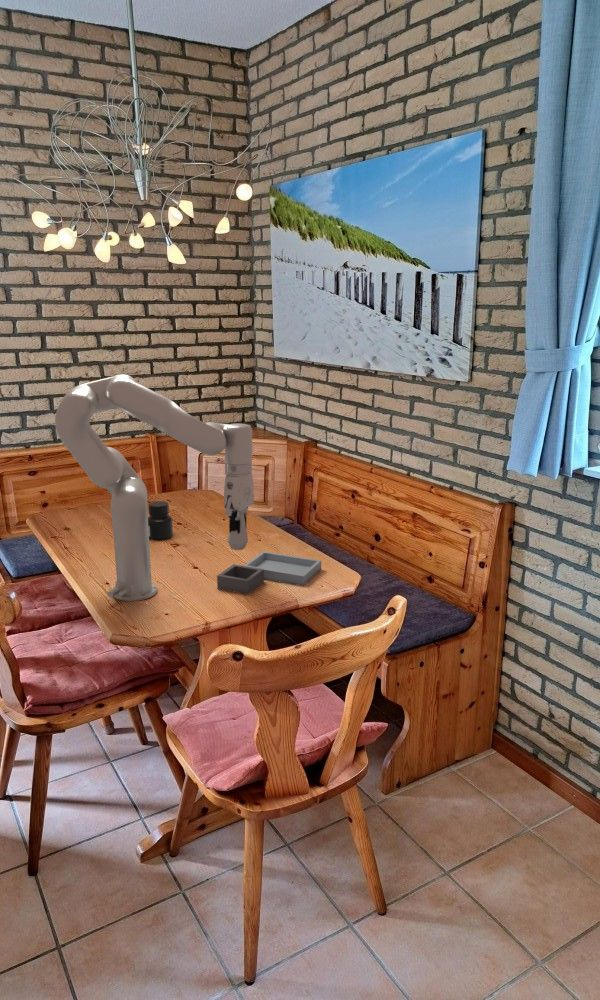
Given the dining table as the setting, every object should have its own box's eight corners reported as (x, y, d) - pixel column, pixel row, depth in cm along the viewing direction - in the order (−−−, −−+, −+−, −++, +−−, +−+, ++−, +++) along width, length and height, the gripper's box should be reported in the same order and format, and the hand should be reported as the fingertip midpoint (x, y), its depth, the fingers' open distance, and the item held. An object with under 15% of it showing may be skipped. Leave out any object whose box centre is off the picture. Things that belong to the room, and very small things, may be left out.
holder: (248, 594, 201) (248, 581, 200) (217, 588, 205) (217, 575, 204) (263, 581, 210) (263, 569, 209) (233, 576, 213) (233, 564, 212)
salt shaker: (239, 552, 200) (240, 508, 196) (223, 548, 203) (223, 505, 199) (251, 547, 205) (252, 504, 201) (235, 543, 208) (236, 500, 204)
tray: (303, 585, 207) (303, 576, 206) (242, 575, 215) (242, 566, 214) (321, 569, 219) (321, 560, 219) (263, 560, 227) (263, 551, 226)
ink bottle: (155, 531, 254) (153, 499, 251) (177, 533, 252) (176, 501, 248) (142, 539, 245) (140, 506, 242) (165, 542, 243) (163, 508, 239)
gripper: (236, 476, 189) (236, 541, 194) (263, 464, 203) (262, 525, 208) (211, 472, 192) (212, 537, 197) (240, 461, 206) (239, 521, 211)
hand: (237, 530), depth 202 cm, fingers closed on salt shaker, 3 cm apart
